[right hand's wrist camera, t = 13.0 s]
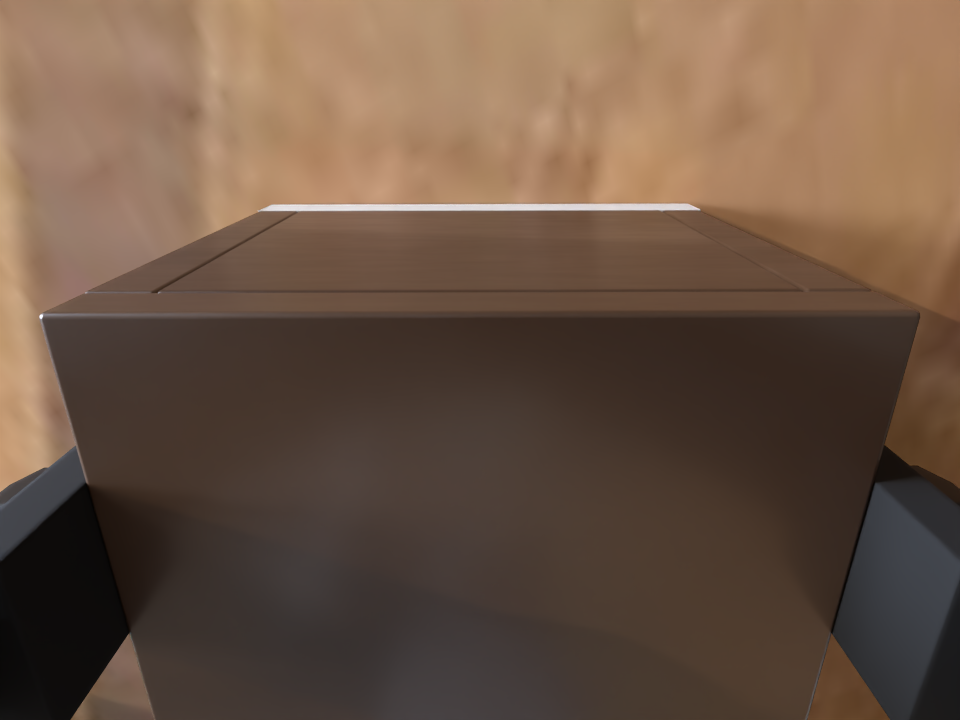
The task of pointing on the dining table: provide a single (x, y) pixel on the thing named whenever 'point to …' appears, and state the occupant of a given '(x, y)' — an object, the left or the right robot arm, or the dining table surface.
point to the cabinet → (480, 462)
